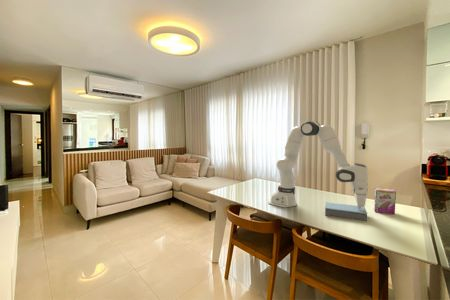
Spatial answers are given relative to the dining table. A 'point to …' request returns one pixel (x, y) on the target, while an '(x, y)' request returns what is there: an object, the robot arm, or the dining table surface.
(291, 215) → the dining table surface
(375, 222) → the dining table surface
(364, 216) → the cable duct
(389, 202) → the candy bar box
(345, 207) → the panel
